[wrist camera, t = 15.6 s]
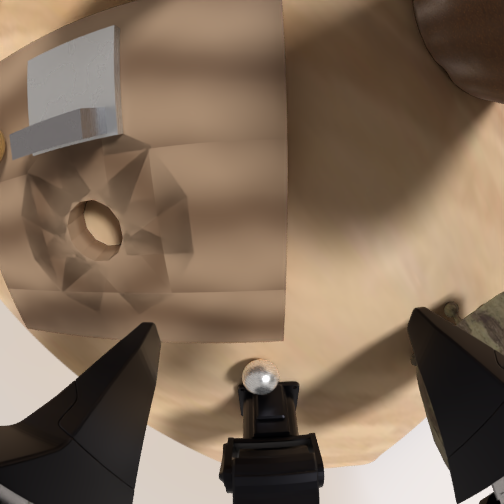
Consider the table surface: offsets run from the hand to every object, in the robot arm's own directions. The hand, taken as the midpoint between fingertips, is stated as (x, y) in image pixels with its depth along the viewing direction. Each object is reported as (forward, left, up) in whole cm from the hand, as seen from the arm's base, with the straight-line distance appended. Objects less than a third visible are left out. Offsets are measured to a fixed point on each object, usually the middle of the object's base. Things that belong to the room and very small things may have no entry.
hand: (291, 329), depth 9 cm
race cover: (+10, +12, -9) cm, 18 cm away
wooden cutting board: (+1, +12, -12) cm, 17 cm away
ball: (-16, +1, -10) cm, 19 cm away
